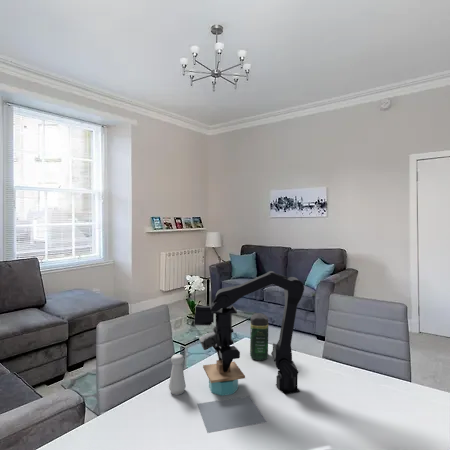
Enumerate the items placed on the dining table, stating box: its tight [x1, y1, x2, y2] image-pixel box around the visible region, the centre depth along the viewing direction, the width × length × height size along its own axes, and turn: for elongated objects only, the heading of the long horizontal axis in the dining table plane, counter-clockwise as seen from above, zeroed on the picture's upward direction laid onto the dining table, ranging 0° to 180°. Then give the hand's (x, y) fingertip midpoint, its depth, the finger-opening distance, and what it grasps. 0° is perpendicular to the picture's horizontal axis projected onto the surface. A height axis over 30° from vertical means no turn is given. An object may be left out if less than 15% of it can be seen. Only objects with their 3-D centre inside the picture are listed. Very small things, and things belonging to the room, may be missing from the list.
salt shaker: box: [168, 353, 187, 396], centre depth 113 cm, size 6×6×13 cm
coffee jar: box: [249, 312, 269, 361], centre depth 144 cm, size 10×8×19 cm
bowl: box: [208, 379, 239, 397], centre depth 116 cm, size 10×10×5 cm
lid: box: [202, 359, 246, 383], centre depth 115 cm, size 12×12×4 cm
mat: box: [196, 395, 268, 434], centre depth 101 cm, size 18×15×1 cm
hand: (223, 369), depth 115 cm, fingers closed on lid, 4 cm apart
